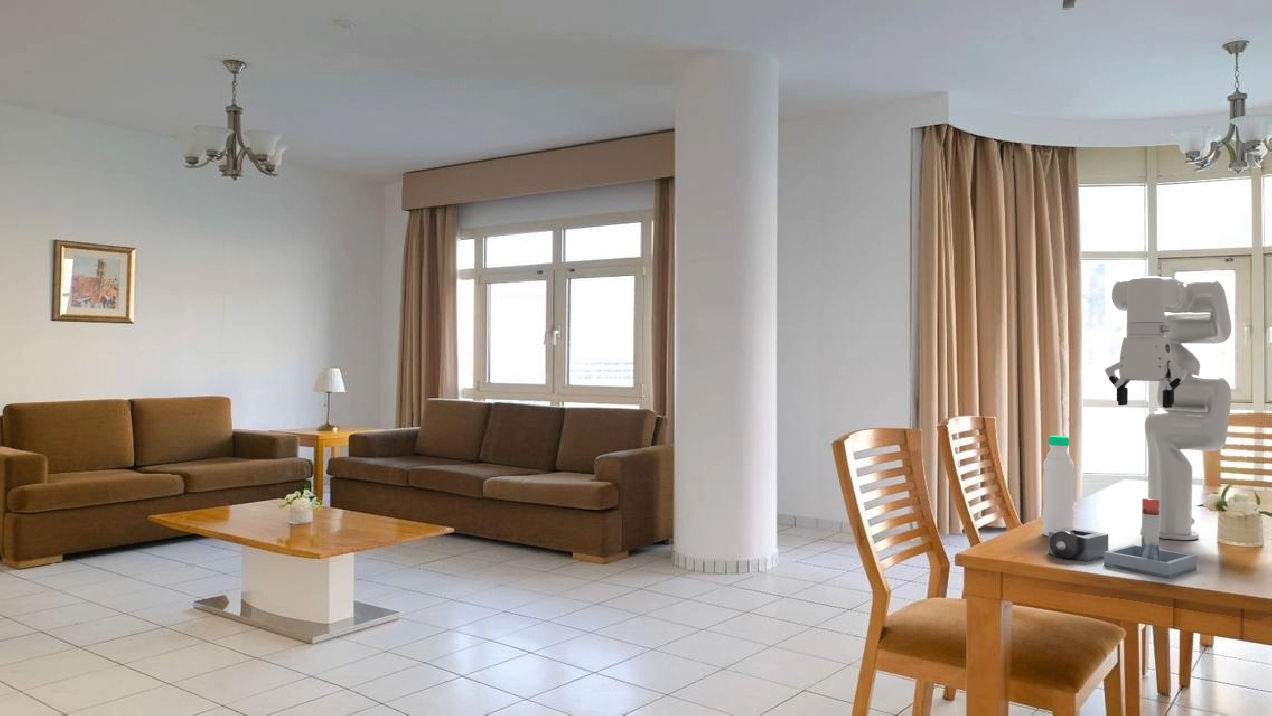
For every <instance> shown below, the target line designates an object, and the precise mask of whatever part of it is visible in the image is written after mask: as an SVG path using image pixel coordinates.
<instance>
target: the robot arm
mask: <svg viewBox="0 0 1272 716" xmlns="http://www.w3.org/2000/svg"><path fill="white" fill-rule="evenodd" d="M1111 292H1112V293H1111V299H1112V303H1113V305H1114V306H1115V308H1116V309H1117V310H1119V311H1124V312H1125V311H1126V337H1123V340H1122V343H1121V349H1120V354H1119V355H1120V356H1119V362H1116V363H1115V364H1113V365H1110V366H1108V367H1107V368H1105V369H1104V371H1105V373H1106V375H1107V377H1108V380H1109V381H1110V383H1112V384H1113V385H1114V388H1116V401H1117V405H1118V406H1127V405H1128V401H1129V400H1128V395H1129V394H1128V390H1129V389H1128V387H1126V386H1127V385H1128V384H1129V383H1130V381H1136V382H1138V381H1141V382H1144V381H1145V382H1158V388H1157V395H1156V397H1157V398H1156V399H1157V404H1158V405H1159V407H1160V408H1161V410H1156V411H1153V412H1151V413H1149V414H1148V415H1147V416H1146V418H1145V422H1144V431H1145V437H1146V444H1147V453H1148V457H1147V459H1148V462H1147V463H1148V470H1147V471H1148V473H1147V476H1148V477H1147V478H1148V480H1147V498H1151V499H1158V500H1160V510H1159V539H1165V540H1173V541H1175V540H1176V541H1194V540H1198V539H1199V536H1200V535H1199V532H1197V531H1194V530H1192V525H1194V524H1195V522H1196V521H1195V519H1194V518H1193V517H1192V515H1193V514H1192V512H1193V509H1192V508H1193V504H1192V503H1193V502H1192V501H1193V467H1192V466H1193V465H1192V464H1191V462H1190V461H1189V459H1188V457H1186V455H1185V454H1184V453H1183V452H1182V451H1181V450H1194V451H1206V452H1207V451H1209V452H1212V451H1213V452H1214V451H1220V450H1221V449H1223V448H1224V446H1225V445H1226V442H1227V437H1228V429H1229V423H1230V422H1229V421H1230V414H1231V405H1232V391H1231V386H1230V384H1229V382H1228V381H1227V380H1226V379H1225V378H1223V377H1220V376H1214V375H1212V376H1211V375H1208V376H1207V375H1200V370H1201V363H1200V361H1199V359H1198V358H1197V357H1196V356H1195V355H1194V353H1193V352H1191V351H1190V350H1189V349H1188V348H1186V347H1185V346H1184V345H1183V344H1221V343H1224V342H1226V341H1227V340H1229V338H1230V336H1231V334H1232V321H1231V317H1230V311H1229V304H1228V300H1227V296H1226V292H1225V289H1224V287H1223V285H1222V284H1221V282H1219V280H1216V279H1213V278H1208V279H1207V278H1206V279H1176V278H1174V277H1170V276H1169V277H1167V276H1165V277H1164V276H1163V277H1162V276H1161V277H1160V276H1137V277H1132V278H1121V279H1118V280H1117V281H1116V282H1115V284H1114V285H1113V288H1112V291H1111ZM1116 371H1118V374H1119V377H1118V376H1116V373H1115V372H1116ZM1140 533H1141V534H1142V527H1141V528H1140Z"/></svg>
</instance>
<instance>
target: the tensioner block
mask: <svg viewBox="0 0 1272 716" xmlns="http://www.w3.org/2000/svg"><path fill="white" fill-rule="evenodd" d="M1105 551H1109V533H1104V532H1098V531H1092V530H1086V529H1082V528H1081V529H1080V528H1075V527H1073V528H1070V527H1069V528H1064V529H1059V530H1055V531H1050V532H1049V536H1048V553H1049V554H1050V555H1053V554H1054V556H1055V557H1057V558H1059V559H1061V558H1062V560H1068V559H1074V560H1079V561H1085V562H1091V561H1095V560H1098V559H1104V552H1105Z"/></svg>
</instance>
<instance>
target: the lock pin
mask: <svg viewBox="0 0 1272 716" xmlns="http://www.w3.org/2000/svg"><path fill="white" fill-rule="evenodd" d="M1141 503H1142V506H1141V507H1142V508H1141V510H1142V511H1141V528H1142V533H1141V546H1142V553H1141V558H1147V559H1152V560H1157V561H1159V549H1160V538H1159V510H1160V500H1158V499H1151V498H1148V497H1146V498H1145V497H1144V498H1142V502H1141Z"/></svg>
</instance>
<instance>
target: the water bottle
mask: <svg viewBox="0 0 1272 716" xmlns="http://www.w3.org/2000/svg"><path fill="white" fill-rule="evenodd" d="M1047 441H1048V446H1049V448H1050V450H1049V451H1048V453H1047V455H1046V458H1045V459H1044V461H1043V462H1042V468H1043V474H1042V475H1043V476H1042V504H1043V505H1042V523H1041V524H1042V525H1041V526H1042V527H1041V528H1042V529H1041V532H1042V534H1043V535H1044V536H1046V537H1049V532H1050V531H1055V530H1059V529H1064V528H1069V527H1070V528H1074V524H1073V520H1074V508H1073V505H1074V495H1075V494H1074V493H1075V487H1074V485H1075V481H1074V480H1075V478H1074V469H1075V464H1074V462H1073V459H1072V458H1071V454H1070V453H1069V452H1068V448H1069V445H1070V438H1069V437H1068V436H1064V435H1050V436H1049V437H1048V440H1047Z"/></svg>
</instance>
